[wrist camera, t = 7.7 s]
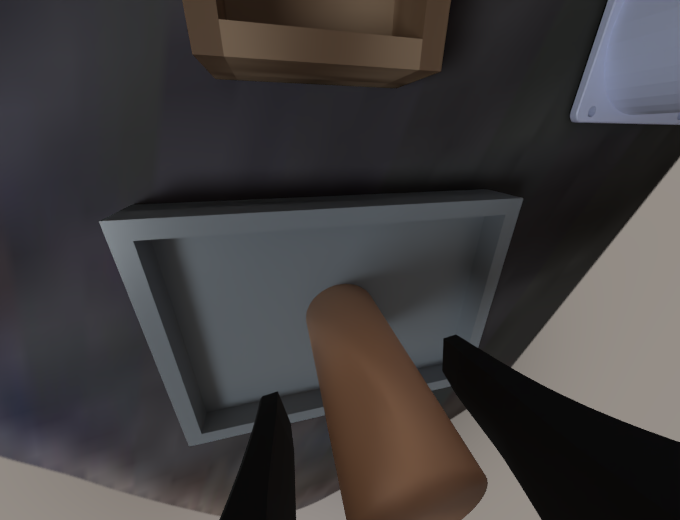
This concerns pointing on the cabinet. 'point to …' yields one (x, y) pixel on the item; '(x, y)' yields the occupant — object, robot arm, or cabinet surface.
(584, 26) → the cabinet surface
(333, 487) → the cabinet surface
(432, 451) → the pin
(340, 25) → the open wooden box
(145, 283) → the tray
